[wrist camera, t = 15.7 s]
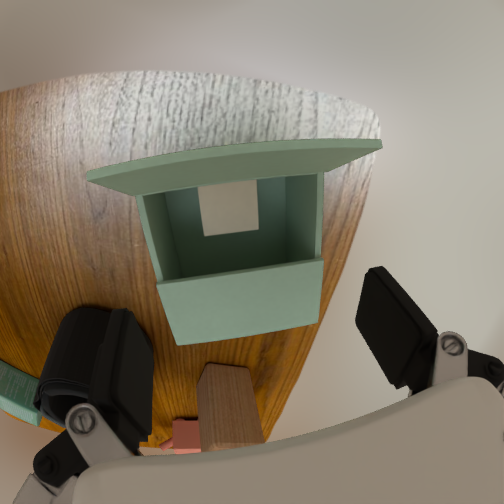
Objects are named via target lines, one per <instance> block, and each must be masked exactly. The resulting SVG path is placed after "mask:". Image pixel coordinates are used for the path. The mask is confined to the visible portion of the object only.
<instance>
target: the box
mask: <svg viewBox="0 0 504 504" xmlns="http://www.w3.org/2000/svg"><path fill="white" fill-rule="evenodd" d="M38 383H39V379H37V378H35V377H32V376H30V375H28V374H26V373H24V372H22V371H20V370H18V369H16V368H15V367H13V366H11V365H9V364H7V363H5V362H3V361H1V360H0V409H2V410H4V411H6V412H8V413H10V414H12V415H14V416H16V417H18V418H20V419H22V420H24V421H26V422H28V423H31V424H33V425H35V426H39V424H40V421H41V419H42V416H43V415H42V414H41V412H40V411H39V410H37V409H36V408H35V407H34V405H33V401H34V397H35V394H36V389H37V386H38Z"/></svg>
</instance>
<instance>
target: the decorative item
mask: <svg viewBox="0 0 504 504" xmlns="http://www.w3.org/2000/svg"><path fill="white" fill-rule="evenodd" d="M196 389H197V406H198V420H199V433H200V444H201V452H209V451H218V450H226V449H233V448H240V447H246V446H252V445H258V444H263V443H265V441H264V437H263V433H262V428H261V424H260V419H259V414H258V410H257V405H256V401H255V396H254V391H253V386H252V382H251V377H250V372H249V369H248V368H244V367H235V366H227V365H219V364H212V363H209V364H207V365H206V366H205V369H204V371H203V373H202V375H201V377H200V380H199V382H198V384H197V386H196Z"/></svg>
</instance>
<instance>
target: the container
mask: <svg viewBox="0 0 504 504" xmlns="http://www.w3.org/2000/svg"><path fill="white" fill-rule="evenodd" d="M256 179H257V198H258V219H259V230H251V231H243V232H235V233H227V234H219V235H211V236H204V232H203V225H202V218H201V211H200V203H199V195H198V188H197V187H201V186H208V185H215V184H223V183H230V182H239V181H247V180H256ZM135 197H136V202H137V206H138V211H139V215H140V219H141V223H142V227H143V231H144V235H145V239H146V242H147V246H148V250H149V253H150V257H151V260H152V264H153V267H154V271H155V274H156V277H157V281H158V282H157V284H156V286H157V289H158V292H159V295H160V298H161V301H162V304H163V307H164V310H165V313H166V316H167V319H168V322H169V325H170V327H171V330H172V333H173V336H174V338H175V341H176V344H177V345H186V344H194V343H202V342H210V341H217V340H225V339H231V338H238V337H244V336H250V335H256V334H262V333H268V332H273V331H279V330H284V329H289V328H294V327H299V326H304V325H309V324H314V323H318V316H319V307H320V298H321V288H322V278H323V267H324V259H323V258H320V256H321V241H322V223H323V198H324V172H316V173H302V174H290V175H278V176H268V177H258V178H249V179H240V180H232V181H224V182H216V183H209V184H202V185H195V186H188V187H182V188H176V189H169V190H164V191H158V192H152V193H147V194H141V195H136V196H135Z"/></svg>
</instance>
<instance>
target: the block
mask: <svg viewBox="0 0 504 504" xmlns="http://www.w3.org/2000/svg"><path fill="white" fill-rule="evenodd" d="M197 188H198V195H199V203H200V211H201V218H202V225H203V232H204V236H211V235H219V234H227V233H235V232H243V231H251V230H259V219H258V198H257V179H256V180H247V181H239V182H230V183H223V184H215V185H208V186H201V187H197Z"/></svg>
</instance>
